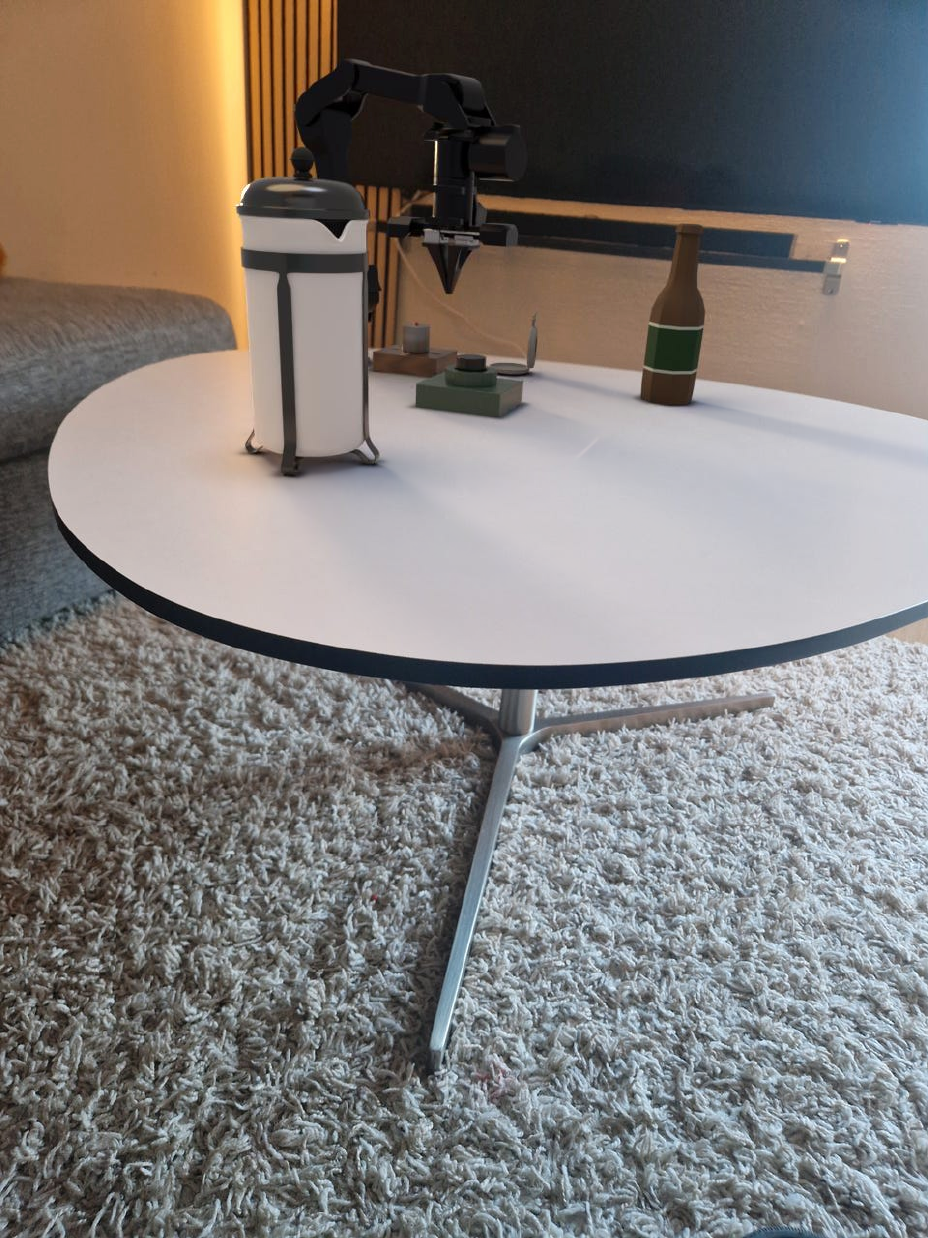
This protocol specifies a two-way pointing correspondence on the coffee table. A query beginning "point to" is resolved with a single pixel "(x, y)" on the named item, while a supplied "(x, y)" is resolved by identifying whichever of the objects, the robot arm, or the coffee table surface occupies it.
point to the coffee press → (307, 314)
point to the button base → (469, 392)
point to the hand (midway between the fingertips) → (449, 293)
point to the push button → (471, 363)
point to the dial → (416, 338)
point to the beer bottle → (676, 327)
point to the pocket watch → (531, 355)
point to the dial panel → (413, 361)
